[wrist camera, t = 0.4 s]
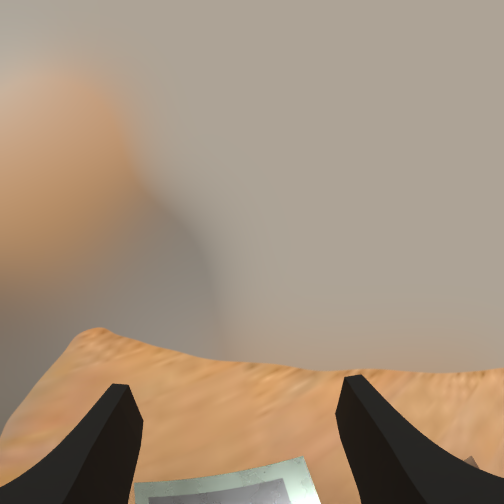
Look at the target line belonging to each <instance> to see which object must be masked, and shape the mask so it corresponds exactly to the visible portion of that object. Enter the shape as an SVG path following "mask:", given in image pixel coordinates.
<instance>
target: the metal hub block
mask: <svg viewBox="0 0 504 504" xmlns="http://www.w3.org/2000/svg"><path fill="white" fill-rule="evenodd" d="M134 490H135V504H321V503H320V501H319V498H318V495H317V493H316V490H315V487H314V485H313V482H312V479H311V476H310V474H309V471H308V468H307V465H306V463H305V460H304V457H303V456H301V457H297V458H294V459H290V460H287V461H283V462H279V463H275V464H271V465H267V466H262V467H258V468H253V469H249V470H244V471H239V472H233V473H228V474H222V475H215V476H209V477H201V478H193V479H185V480H174V481H162V482H143V483H134Z"/></svg>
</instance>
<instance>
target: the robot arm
mask: <svg viewBox="0 0 504 504" xmlns="http://www.w3.org/2000/svg"><path fill="white" fill-rule="evenodd" d="M335 415H336V420H337V425H338V430H339V434H340V439H341V442H342V445H343V448H344V450H345V453H346V456H347V459H348V462H349V465H350V468H351V470H352V473H353V476H354V479H355V482H356V485H357V488H358V491H359V495H360V499H361V504H504V478H501V477H498V476H495V475H492V474H490V473H487V472H485V471H483V470H480V469H478V468H476V467H474V466H472V465H470V464H468V463H466V462H464V461H462V460H460V459H459V458H457V457H455V456H453V455H452V454H450V453H448V452H447V451H445V450H444V449H442V448H441V447H439V446H438V445H436V444H435V443H434V442H432V441H431V440H430V439H428V438H427V437H426V436H424V435H423V434H422V433H421V432H420V431H418V430H417V429H416V428H415V427H414V426H413V425H411V424H410V423H409V422H408V421H407V420H406V419H405V418H404V417H403V416H402V415H401V414H400V413H398V412H397V411H396V410H395V409H394V408H393V407H392V406H391V405H390V404H389V403H388V402H387V401H386V400H385V399H384V398H383V397H382V396H381V394H380V393H379V392H378V391H377V390H376V389H375V388H374V387H373V386H372V385H371V384H370V383H369V382H368V381H367V380H366V379H365V377H364V376H362V375H354V376H348V377H344V381H343V385H342V390H341V394H340V398H339V402H338V405H337V409H336V413H335ZM142 430H143V419H142V416H141V414H140V412H139V409H138V407H137V405H136V402H135V400H134V397H133V395H132V392H131V390H130V387H129V385H124V384H112V385H111V386H110V387H109V388H108V389H107V390H106V392H105V393H104V394H103V395H102V396H101V398H100V399H99V400H98V401H97V402H96V404H95V405H94V406H93V407H92V408H91V410H90V411H89V412H88V413H87V414H86V415H85V417H84V418H83V419H82V420H81V421H80V422H79V423H78V425H77V426H76V427H75V428H74V429H73V430H72V431H71V432H70V433H69V434H68V435H67V436H66V437H65V439H64V440H63V441H62V442H61V443H60V444H59V445H58V446H57V447H56V448H55V449H53V450H52V451H51V452H50V453H49V454H48V455H47V456H46V457H44V458H43V459H42V460H41V461H40V462H38V463H37V464H36V465H35V466H33V467H32V468H31V469H29V470H28V471H26V472H25V473H23V474H22V475H21V476H19V477H18V478H16V479H14V480H13V481H11V482H9V483H7V484H6V485H4V486H2V487H0V504H128V499H129V494H130V489H131V485H132V481H133V476H134V472H135V468H136V464H137V459H138V455H139V451H140V447H141V439H142Z"/></svg>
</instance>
